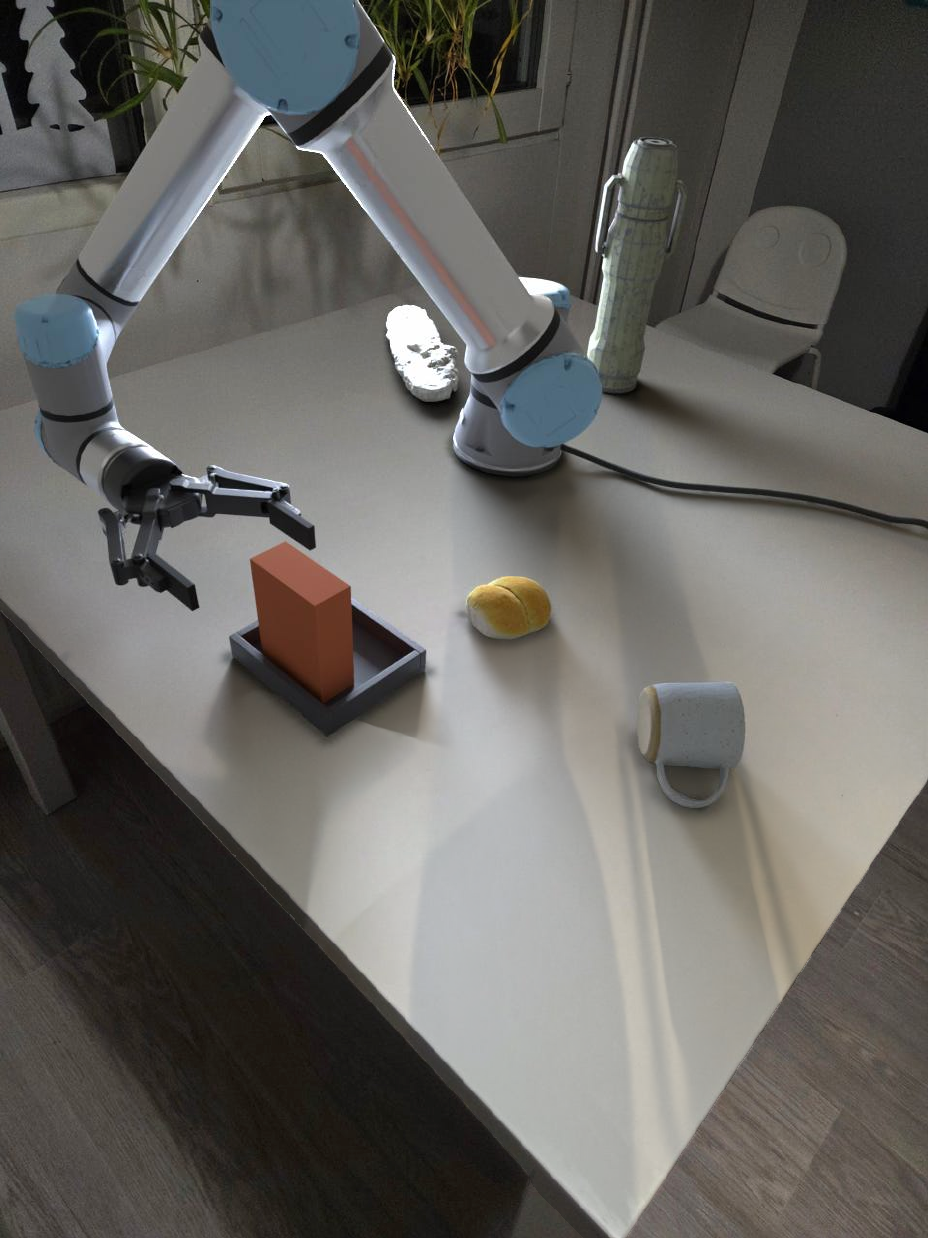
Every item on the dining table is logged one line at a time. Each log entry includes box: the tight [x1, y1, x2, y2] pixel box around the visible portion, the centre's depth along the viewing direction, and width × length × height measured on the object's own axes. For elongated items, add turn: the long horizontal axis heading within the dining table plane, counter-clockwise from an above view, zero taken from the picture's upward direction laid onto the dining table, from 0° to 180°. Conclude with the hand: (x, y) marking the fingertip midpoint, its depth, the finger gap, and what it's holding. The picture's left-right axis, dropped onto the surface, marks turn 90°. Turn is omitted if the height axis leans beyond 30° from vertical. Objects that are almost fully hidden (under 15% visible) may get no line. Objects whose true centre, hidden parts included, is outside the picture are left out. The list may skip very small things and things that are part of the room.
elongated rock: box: [385, 304, 460, 403], centre depth 136 cm, size 35×5×10 cm
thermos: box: [586, 136, 689, 394], centre depth 124 cm, size 9×12×35 cm
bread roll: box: [465, 575, 552, 640], centre depth 88 cm, size 8×9×4 cm
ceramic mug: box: [636, 681, 746, 809], centre depth 72 cm, size 11×8×8 cm
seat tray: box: [228, 596, 427, 738], centre depth 81 cm, size 13×15×3 cm
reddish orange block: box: [249, 540, 354, 704], centre depth 76 cm, size 4×9×12 cm, turn 47°
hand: (256, 566), depth 78 cm, fingers open, 13 cm apart
